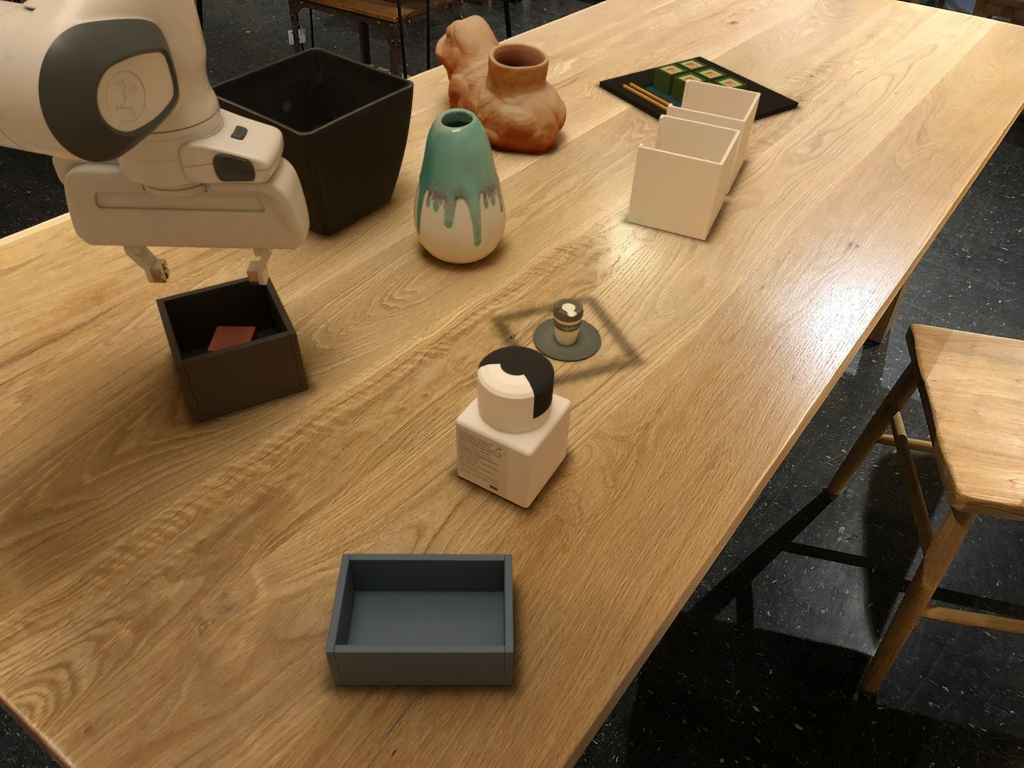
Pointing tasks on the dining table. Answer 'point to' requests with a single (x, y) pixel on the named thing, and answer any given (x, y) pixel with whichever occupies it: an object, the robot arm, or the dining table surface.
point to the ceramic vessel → (501, 87)
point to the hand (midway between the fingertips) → (210, 280)
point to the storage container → (693, 159)
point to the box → (422, 620)
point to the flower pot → (330, 128)
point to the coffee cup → (567, 333)
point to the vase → (458, 191)
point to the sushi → (668, 85)
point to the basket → (232, 347)
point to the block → (231, 337)
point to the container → (513, 426)
